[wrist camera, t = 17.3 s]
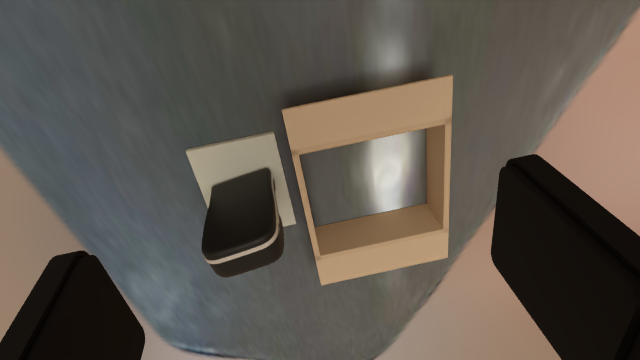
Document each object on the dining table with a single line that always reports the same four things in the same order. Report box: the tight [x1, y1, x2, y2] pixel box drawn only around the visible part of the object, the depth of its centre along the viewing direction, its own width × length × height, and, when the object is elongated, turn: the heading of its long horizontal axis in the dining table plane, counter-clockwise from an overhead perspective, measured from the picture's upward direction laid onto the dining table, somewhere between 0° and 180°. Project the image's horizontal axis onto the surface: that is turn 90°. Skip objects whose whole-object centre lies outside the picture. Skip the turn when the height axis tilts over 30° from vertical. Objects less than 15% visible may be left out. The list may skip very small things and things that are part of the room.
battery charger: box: [202, 168, 284, 277], centre depth 39 cm, size 7×4×11 cm, turn 108°
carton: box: [282, 74, 453, 285], centre depth 43 cm, size 15×22×5 cm
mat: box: [186, 131, 296, 227], centre depth 44 cm, size 9×12×1 cm
